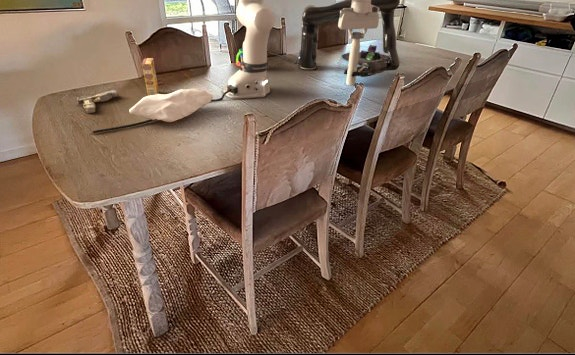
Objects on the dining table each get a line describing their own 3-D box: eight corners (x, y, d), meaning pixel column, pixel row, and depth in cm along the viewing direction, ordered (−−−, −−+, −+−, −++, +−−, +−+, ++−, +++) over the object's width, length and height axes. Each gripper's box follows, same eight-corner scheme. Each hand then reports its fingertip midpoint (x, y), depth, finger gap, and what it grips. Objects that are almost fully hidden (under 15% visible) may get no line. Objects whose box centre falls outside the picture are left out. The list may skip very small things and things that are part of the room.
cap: (351, 38, 176) (352, 33, 175) (351, 36, 180) (352, 31, 179) (361, 39, 176) (361, 34, 175) (361, 37, 180) (361, 32, 178)
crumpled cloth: (117, 110, 146) (113, 90, 140) (195, 92, 166) (194, 73, 160) (143, 139, 134) (140, 118, 128) (223, 116, 154) (224, 96, 148)
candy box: (157, 97, 164) (152, 63, 155) (147, 98, 163) (141, 63, 155) (158, 91, 171) (153, 57, 163) (149, 91, 170) (143, 58, 162)
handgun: (128, 97, 156) (111, 87, 164) (86, 107, 144) (70, 97, 152) (129, 103, 157) (113, 94, 165) (88, 114, 146) (72, 103, 154)
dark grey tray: (408, 61, 231) (410, 46, 226) (368, 68, 213) (370, 52, 209) (368, 52, 256) (369, 39, 251) (330, 58, 238) (331, 43, 234)
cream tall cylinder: (346, 85, 188) (353, 35, 175) (345, 82, 192) (351, 33, 179) (355, 85, 189) (362, 35, 175) (353, 82, 193) (360, 33, 179)
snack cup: (256, 64, 215) (256, 46, 209) (265, 68, 208) (265, 50, 202) (232, 67, 207) (231, 49, 202) (240, 72, 200) (240, 53, 195)
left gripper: (343, 8, 165) (340, 40, 173) (382, 8, 171) (377, 39, 179) (337, 6, 170) (334, 37, 178) (375, 6, 176) (371, 36, 184)
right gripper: (361, 58, 198) (339, 62, 188) (382, 64, 188) (359, 69, 179) (359, 72, 202) (337, 77, 192) (379, 78, 192) (357, 84, 183)
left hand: (356, 38), depth 178 cm, fingers closed on cap, 4 cm apart
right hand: (348, 73), depth 186 cm, fingers closed on cream tall cylinder, 4 cm apart
